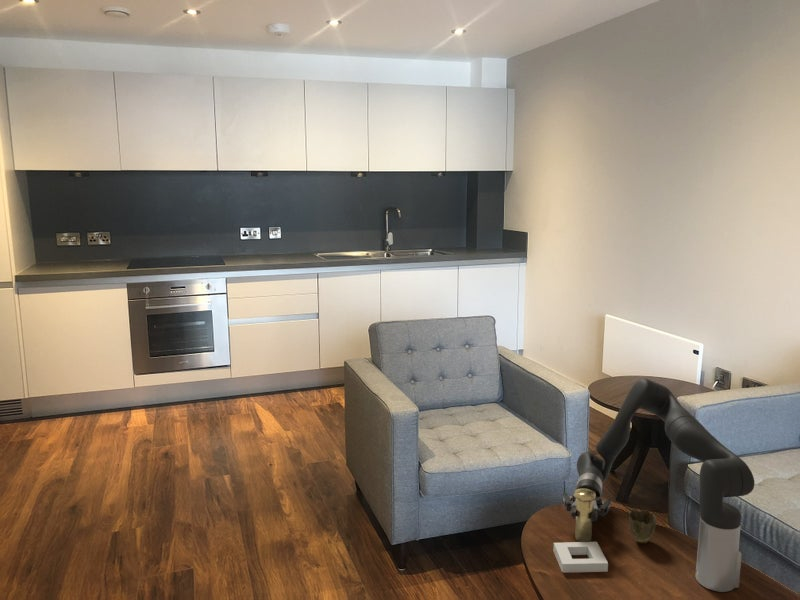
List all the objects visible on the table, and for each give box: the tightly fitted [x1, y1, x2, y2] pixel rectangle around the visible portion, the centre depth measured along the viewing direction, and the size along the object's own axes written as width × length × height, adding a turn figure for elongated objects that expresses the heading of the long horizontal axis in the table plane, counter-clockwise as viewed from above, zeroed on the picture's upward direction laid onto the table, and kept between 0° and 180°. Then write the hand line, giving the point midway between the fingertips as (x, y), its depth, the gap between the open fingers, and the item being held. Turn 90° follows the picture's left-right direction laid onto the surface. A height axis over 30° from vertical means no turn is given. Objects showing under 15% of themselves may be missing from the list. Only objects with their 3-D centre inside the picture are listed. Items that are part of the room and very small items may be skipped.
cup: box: [628, 509, 658, 544], centre depth 188 cm, size 8×7×8 cm
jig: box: [553, 541, 609, 574], centre depth 179 cm, size 12×10×2 cm
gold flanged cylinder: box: [573, 488, 596, 542], centre depth 189 cm, size 6×6×14 cm
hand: (583, 517), depth 186 cm, fingers closed on gold flanged cylinder, 4 cm apart
